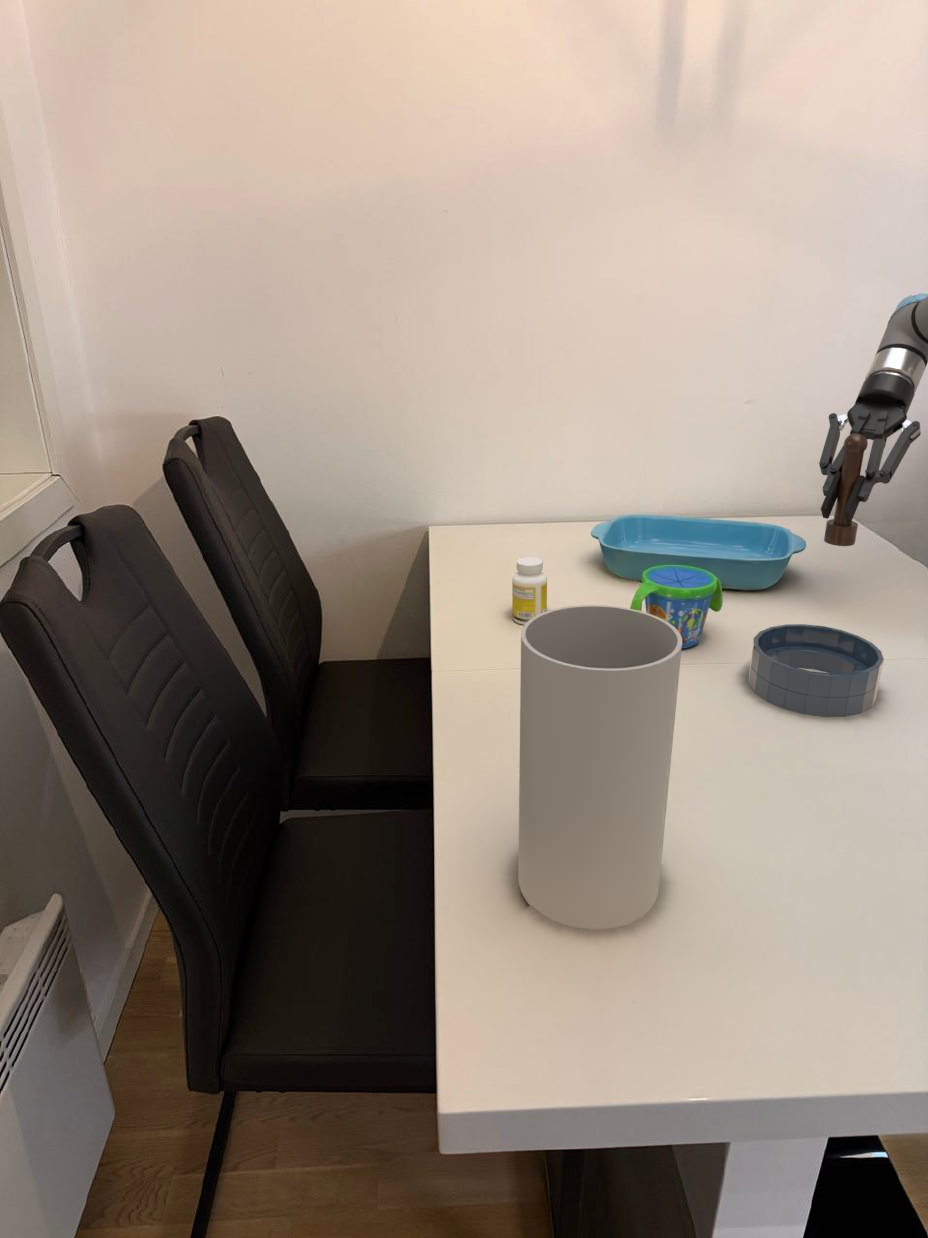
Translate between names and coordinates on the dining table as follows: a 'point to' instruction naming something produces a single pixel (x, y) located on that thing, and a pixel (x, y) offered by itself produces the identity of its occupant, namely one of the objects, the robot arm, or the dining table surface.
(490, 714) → the dining table surface
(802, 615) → the dining table surface
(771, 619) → the dining table surface
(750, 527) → the casserole dish
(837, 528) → the pestle
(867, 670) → the ring
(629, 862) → the cylinder vase
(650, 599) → the snack cup
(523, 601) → the supplement bottle
